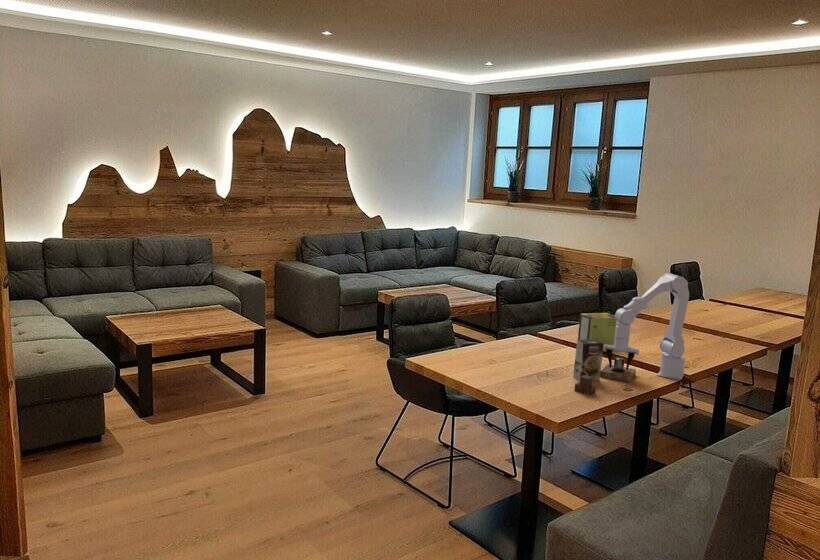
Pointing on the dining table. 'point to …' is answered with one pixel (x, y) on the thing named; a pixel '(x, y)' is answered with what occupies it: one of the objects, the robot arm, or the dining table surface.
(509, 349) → the dining table surface
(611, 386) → the dining table surface
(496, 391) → the dining table surface
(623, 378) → the socket block
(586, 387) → the stack of crates
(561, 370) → the dining table surface
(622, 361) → the pin
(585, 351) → the coffee box
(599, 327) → the protein box
